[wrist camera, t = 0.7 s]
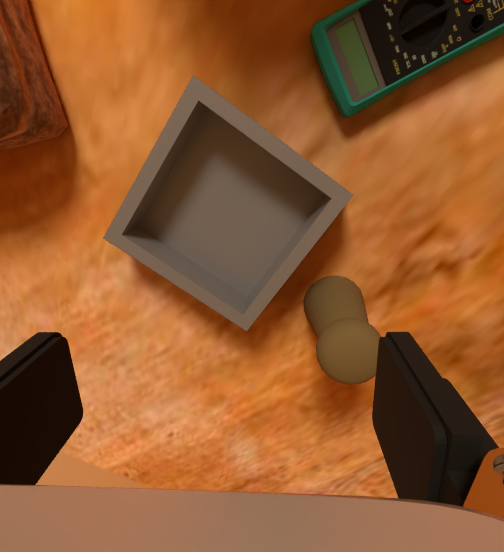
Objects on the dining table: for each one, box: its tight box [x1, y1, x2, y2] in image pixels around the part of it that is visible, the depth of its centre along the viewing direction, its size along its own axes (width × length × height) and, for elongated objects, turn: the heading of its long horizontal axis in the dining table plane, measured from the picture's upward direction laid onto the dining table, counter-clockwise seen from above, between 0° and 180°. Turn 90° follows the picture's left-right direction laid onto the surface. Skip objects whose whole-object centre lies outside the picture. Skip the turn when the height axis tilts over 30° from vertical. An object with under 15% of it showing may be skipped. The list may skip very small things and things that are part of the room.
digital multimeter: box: [310, 0, 504, 118], centre depth 28 cm, size 7×15×3 cm, turn 117°
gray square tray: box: [104, 75, 353, 331], centre depth 32 cm, size 15×15×5 cm
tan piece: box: [304, 276, 381, 384], centre depth 32 cm, size 6×6×11 cm
